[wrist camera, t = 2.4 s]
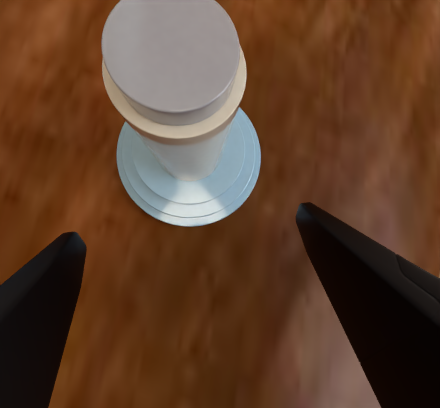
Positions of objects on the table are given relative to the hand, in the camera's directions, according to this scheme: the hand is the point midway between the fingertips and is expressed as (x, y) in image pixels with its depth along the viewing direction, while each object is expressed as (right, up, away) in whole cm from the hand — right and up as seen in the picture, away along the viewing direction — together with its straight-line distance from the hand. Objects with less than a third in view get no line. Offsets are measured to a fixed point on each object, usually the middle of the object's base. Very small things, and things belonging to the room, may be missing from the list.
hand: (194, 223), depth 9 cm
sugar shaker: (-2, +6, +10) cm, 12 cm away
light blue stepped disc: (-2, +6, +13) cm, 14 cm away
